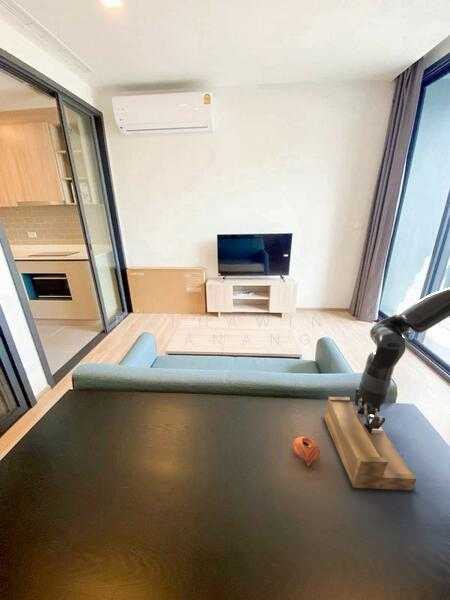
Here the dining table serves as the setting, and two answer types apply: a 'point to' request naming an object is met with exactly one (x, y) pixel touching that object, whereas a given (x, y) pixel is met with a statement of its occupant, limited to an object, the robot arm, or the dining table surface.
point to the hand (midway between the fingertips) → (363, 425)
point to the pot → (306, 449)
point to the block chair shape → (370, 420)
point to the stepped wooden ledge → (365, 450)
